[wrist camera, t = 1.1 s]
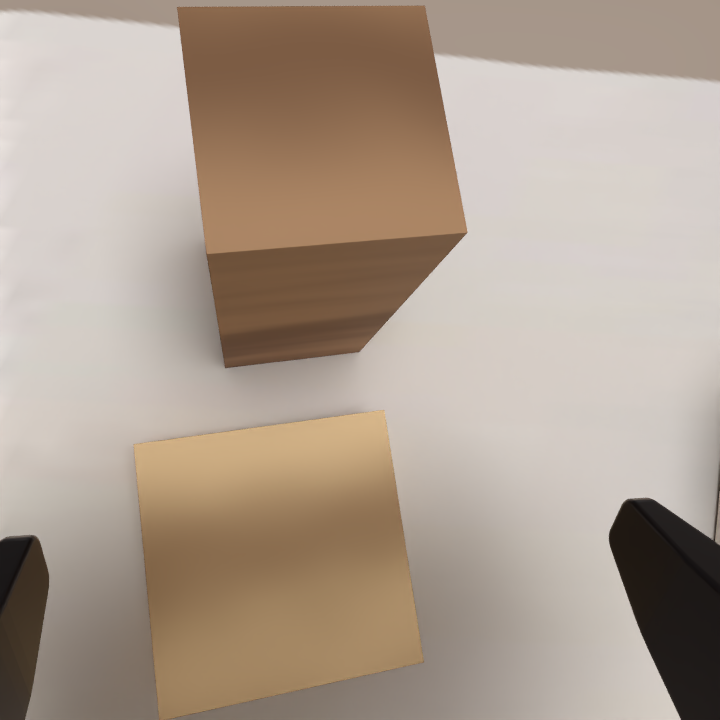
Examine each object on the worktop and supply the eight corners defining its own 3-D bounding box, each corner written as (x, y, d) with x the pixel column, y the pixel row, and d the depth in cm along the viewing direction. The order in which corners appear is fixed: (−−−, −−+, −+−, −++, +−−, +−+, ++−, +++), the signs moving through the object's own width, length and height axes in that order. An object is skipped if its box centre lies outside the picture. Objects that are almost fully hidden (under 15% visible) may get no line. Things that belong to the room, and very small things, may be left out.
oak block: (400, 638, 23) (423, 662, 20) (171, 687, 21) (159, 721, 18) (367, 418, 24) (384, 410, 21) (148, 448, 22) (133, 444, 19)
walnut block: (358, 352, 24) (467, 232, 12) (225, 367, 23) (206, 254, 11) (339, 227, 25) (424, 5, 13) (209, 237, 24) (177, 6, 12)
